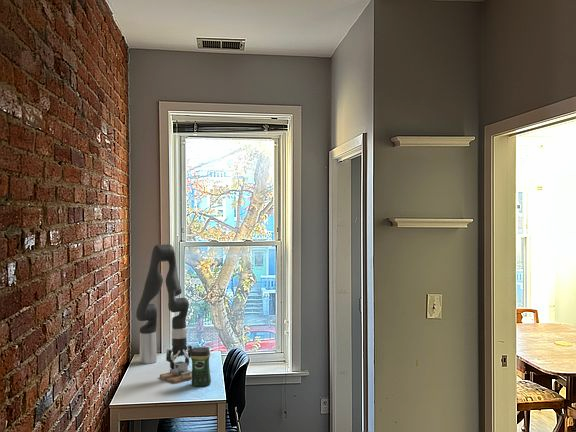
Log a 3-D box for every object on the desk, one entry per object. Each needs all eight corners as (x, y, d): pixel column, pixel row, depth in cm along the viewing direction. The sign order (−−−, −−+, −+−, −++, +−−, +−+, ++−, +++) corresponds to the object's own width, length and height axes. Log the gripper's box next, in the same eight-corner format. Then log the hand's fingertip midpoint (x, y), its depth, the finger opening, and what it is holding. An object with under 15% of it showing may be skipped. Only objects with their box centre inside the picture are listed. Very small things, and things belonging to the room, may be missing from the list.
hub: (172, 374, 295) (171, 363, 295) (181, 372, 299) (181, 361, 299) (178, 376, 291) (177, 365, 291) (187, 374, 295) (187, 363, 295)
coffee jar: (211, 382, 286) (211, 345, 286) (209, 386, 278) (208, 349, 278) (192, 382, 286) (192, 345, 286) (189, 387, 279) (189, 349, 278)
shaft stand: (159, 377, 295) (159, 363, 295) (184, 371, 306) (184, 357, 305) (175, 383, 284) (174, 368, 284) (200, 377, 295) (199, 363, 294)
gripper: (186, 333, 302) (187, 363, 302) (163, 337, 293) (163, 368, 293) (194, 335, 297) (195, 366, 297) (171, 339, 287) (171, 371, 287)
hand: (179, 367), depth 295 cm, fingers open, 8 cm apart
